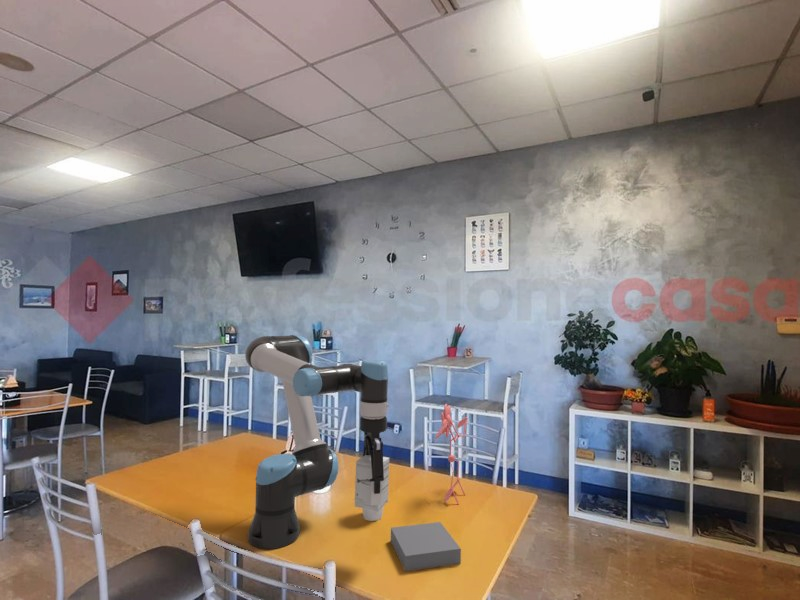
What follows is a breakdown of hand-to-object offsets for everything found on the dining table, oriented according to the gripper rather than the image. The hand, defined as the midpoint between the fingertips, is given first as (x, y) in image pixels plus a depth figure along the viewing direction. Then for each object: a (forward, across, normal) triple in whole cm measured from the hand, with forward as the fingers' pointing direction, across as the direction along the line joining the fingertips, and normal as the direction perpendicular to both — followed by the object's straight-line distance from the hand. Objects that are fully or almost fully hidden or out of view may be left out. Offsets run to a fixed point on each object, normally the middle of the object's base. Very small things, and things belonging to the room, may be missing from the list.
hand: (371, 496), depth 121 cm
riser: (+18, +1, -16) cm, 24 cm away
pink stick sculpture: (+18, +36, -36) cm, 54 cm away
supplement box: (+2, 0, 0) cm, 2 cm away
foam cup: (+18, +26, -6) cm, 32 cm away
